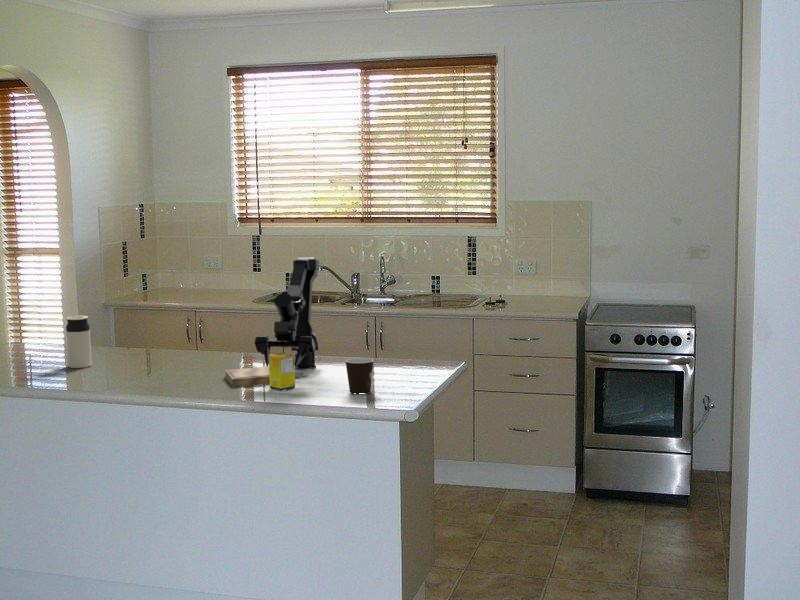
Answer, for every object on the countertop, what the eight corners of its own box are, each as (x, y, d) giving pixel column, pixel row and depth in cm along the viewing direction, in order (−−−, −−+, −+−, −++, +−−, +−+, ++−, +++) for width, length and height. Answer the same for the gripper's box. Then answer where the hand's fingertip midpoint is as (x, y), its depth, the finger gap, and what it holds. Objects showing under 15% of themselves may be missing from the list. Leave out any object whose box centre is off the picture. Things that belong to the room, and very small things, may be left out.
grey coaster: (301, 372, 327) (300, 370, 327) (307, 377, 319) (307, 375, 318) (275, 374, 324) (275, 373, 324) (280, 379, 316) (280, 378, 316)
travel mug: (77, 369, 339) (74, 319, 336) (64, 367, 343) (60, 317, 341) (96, 365, 345) (93, 316, 343) (83, 363, 350) (80, 314, 347)
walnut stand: (272, 373, 326) (271, 365, 326) (281, 382, 311) (281, 374, 311) (225, 377, 321) (224, 369, 321) (232, 387, 306) (232, 378, 306)
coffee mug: (363, 396, 290) (363, 364, 289) (340, 393, 295) (339, 361, 293) (384, 389, 300) (384, 357, 299) (361, 386, 304) (361, 355, 303)
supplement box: (284, 385, 308) (282, 352, 306) (295, 388, 303) (294, 354, 302) (269, 388, 303) (267, 354, 302) (280, 391, 299) (279, 356, 298)
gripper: (254, 311, 306) (246, 351, 296) (312, 311, 304) (306, 351, 294) (261, 331, 315) (254, 371, 305) (317, 331, 313) (311, 371, 303)
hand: (281, 366), depth 302 cm, fingers open, 9 cm apart
